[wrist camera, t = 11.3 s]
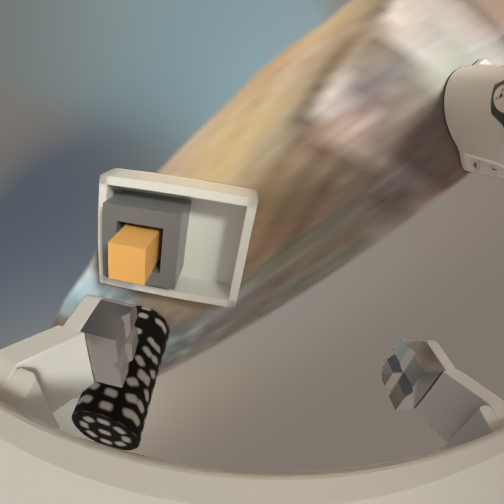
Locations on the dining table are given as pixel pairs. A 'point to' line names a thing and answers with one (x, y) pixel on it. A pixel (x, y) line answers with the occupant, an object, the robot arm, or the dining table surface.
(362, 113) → the dining table surface
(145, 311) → the white-spotted black cylinder
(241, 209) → the bay
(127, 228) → the plug
